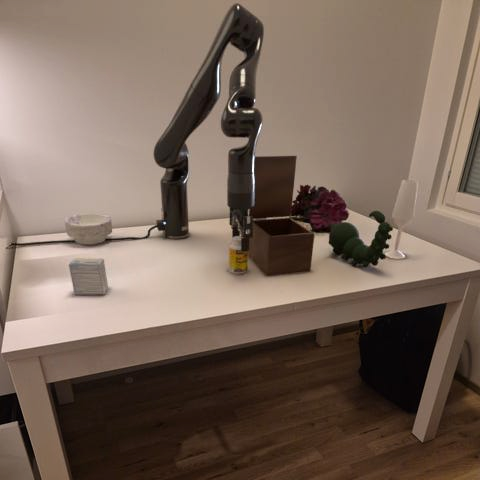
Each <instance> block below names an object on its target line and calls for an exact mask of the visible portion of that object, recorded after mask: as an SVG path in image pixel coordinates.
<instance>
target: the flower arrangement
mask: <svg viewBox="0 0 480 480" xmlns="http://www.w3.org/2000/svg"><path fill="white" fill-rule="evenodd" d="M296 191H297V193H298V194H297V195H296V197H295V199H294V200H292V210H291V216H289V217H288V218H292V219H293V220H295V221H296V222H305V223H309V225H310V229H311V231H312V232H313V233H319V232H322V233H324V232H328V233H330V231H331V227H330V223H333V224H336V225H337V224H339V223H342V222H345V221H347V220H348V219H349V216H350V211H349V210H348V209H347V203H346V201H345V200H344V198H342V197H341V195H340V193H339V192H337V191H336V190H335V189H331V190H329V189H327V187H325V186H318V187H316V185H313V187H311V185H309V184H305V185H304V184H300V185H299V190H298V189H296ZM300 216H302V217H300Z"/></svg>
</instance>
